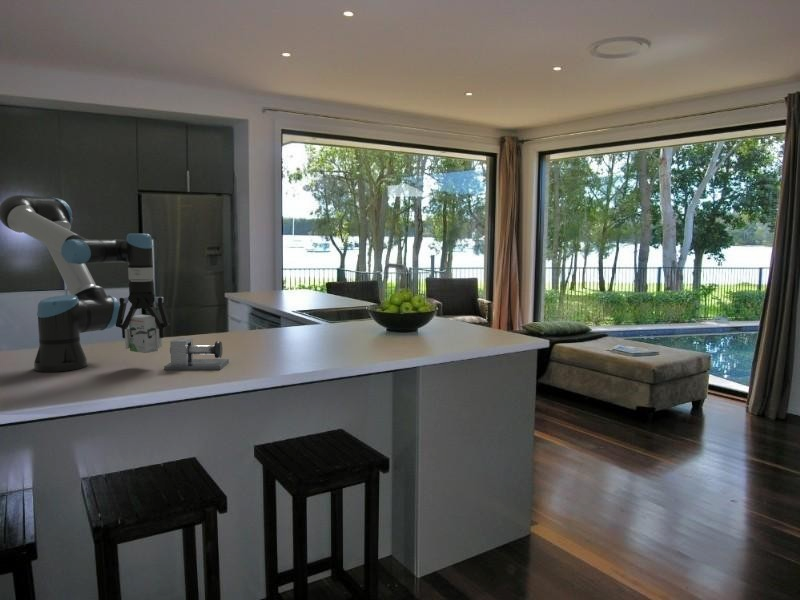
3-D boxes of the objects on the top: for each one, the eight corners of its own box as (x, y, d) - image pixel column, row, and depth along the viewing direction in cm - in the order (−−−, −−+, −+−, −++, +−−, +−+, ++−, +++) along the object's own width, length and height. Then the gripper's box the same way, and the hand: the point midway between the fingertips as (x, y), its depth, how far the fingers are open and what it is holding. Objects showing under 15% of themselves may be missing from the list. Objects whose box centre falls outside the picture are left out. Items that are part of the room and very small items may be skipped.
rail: (164, 370, 195) (163, 342, 194) (175, 362, 207) (175, 336, 206) (220, 369, 196) (219, 342, 195) (228, 362, 208) (228, 336, 207)
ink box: (129, 351, 200) (127, 315, 199) (142, 348, 204) (140, 314, 203) (146, 353, 196) (144, 317, 195) (159, 351, 200) (157, 315, 199)
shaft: (168, 359, 198) (168, 343, 197) (174, 356, 204) (173, 340, 203) (218, 359, 199) (218, 342, 198) (222, 356, 204) (222, 340, 204)
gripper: (101, 281, 193) (105, 350, 196) (171, 281, 195) (174, 349, 197) (111, 280, 201) (114, 346, 203) (178, 279, 202) (181, 345, 204)
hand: (144, 347), depth 200 cm, fingers closed on ink box, 9 cm apart
